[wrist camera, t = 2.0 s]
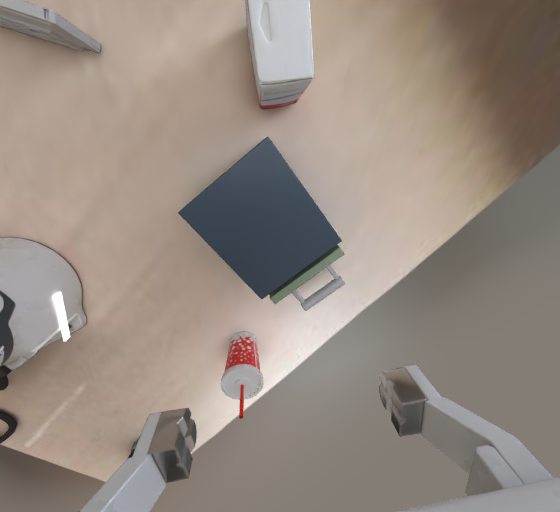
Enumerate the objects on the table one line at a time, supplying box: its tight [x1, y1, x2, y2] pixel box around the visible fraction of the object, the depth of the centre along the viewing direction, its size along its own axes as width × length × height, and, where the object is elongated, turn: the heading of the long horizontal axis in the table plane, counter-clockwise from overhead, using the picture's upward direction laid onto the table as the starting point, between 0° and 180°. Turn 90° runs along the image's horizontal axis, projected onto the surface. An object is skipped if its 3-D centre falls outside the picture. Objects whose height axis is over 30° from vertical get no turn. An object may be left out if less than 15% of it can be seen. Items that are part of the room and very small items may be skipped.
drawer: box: [269, 245, 345, 311], centre depth 36 cm, size 18×11×6 cm, turn 38°
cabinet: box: [178, 137, 342, 299], centre depth 34 cm, size 15×13×8 cm
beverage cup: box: [221, 332, 263, 418], centre depth 39 cm, size 6×6×14 cm
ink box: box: [245, 0, 314, 109], centre depth 26 cm, size 9×5×12 cm, turn 8°
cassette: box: [0, 0, 101, 53], centre depth 24 cm, size 12×2×8 cm, turn 76°
